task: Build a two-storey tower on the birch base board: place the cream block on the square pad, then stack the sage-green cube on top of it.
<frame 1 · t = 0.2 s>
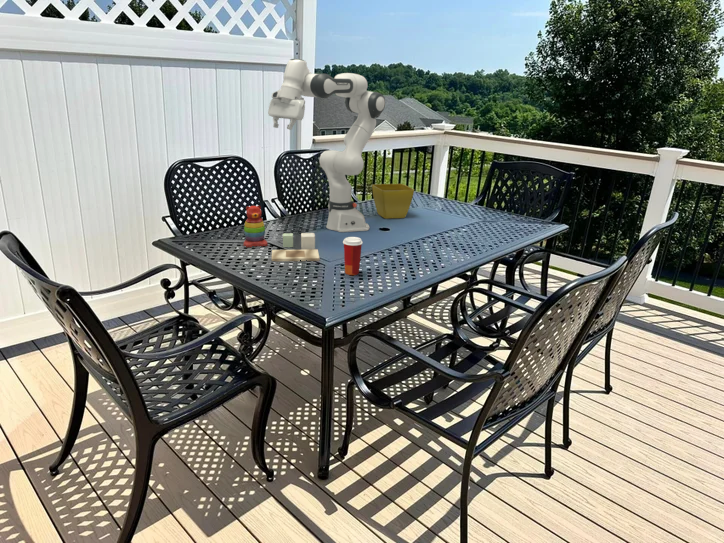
hand: (282, 128, 222), 52 cm above the table, tool tilted 20°, fingers open, 8 cm apart
base board: (295, 256, 221), on the table
paper cup: (351, 273, 205), on the table
flower pot: (391, 216, 294), on the table
sage cube: (288, 246, 235), on the table
stacking bear: (255, 244, 236), on the table
cream block: (308, 247, 234), on the table
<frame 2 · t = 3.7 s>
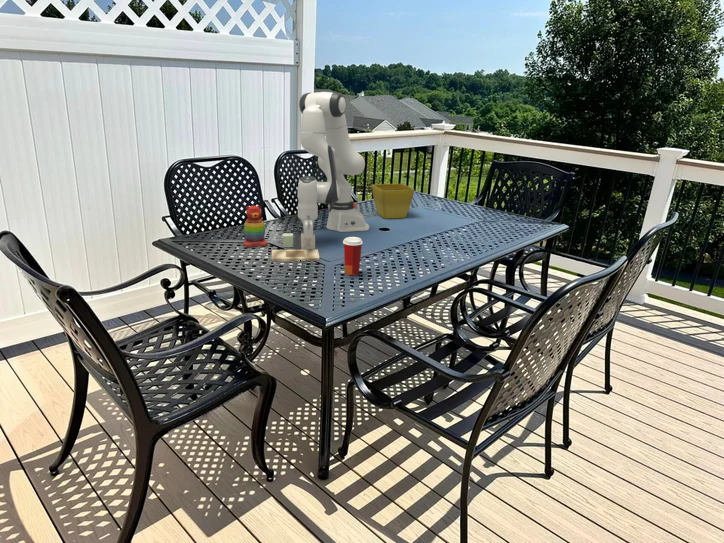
hand: (307, 243, 233), 2 cm above the table, tool pointing down, fingers closed on cream block, 6 cm apart
cream block: (308, 247, 234), on the table, touching gripper
everything else where it was.
when the fingers open (4 cm above the table, at t = 9.1 s): cream block stays where it is, resting on base board.
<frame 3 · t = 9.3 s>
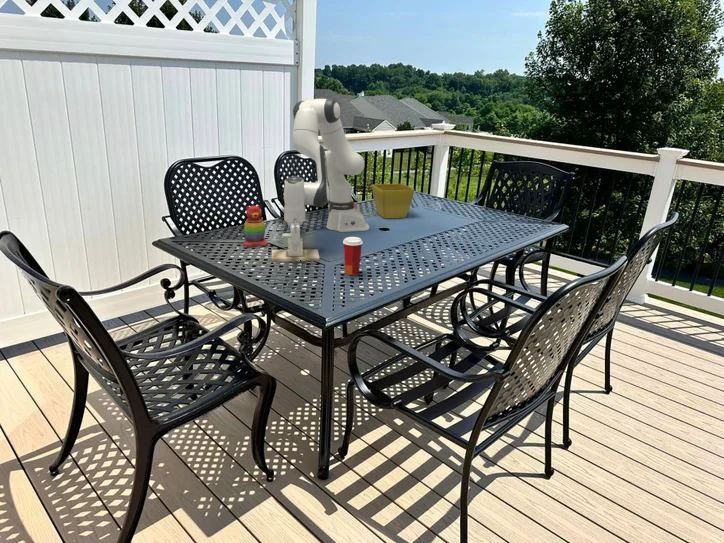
hand: (295, 247, 220), 4 cm above the table, tool pointing down, fingers open, 8 cm apart
cream block: (295, 253, 221), point 1 cm above the table, touching base board
everything else where it was.
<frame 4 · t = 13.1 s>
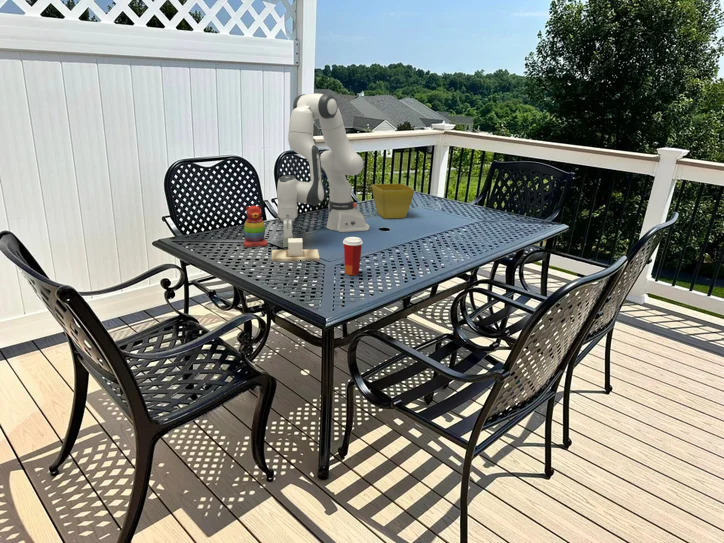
hand: (288, 242, 234), 2 cm above the table, tool pointing down, fingers closed on sage cube, 4 cm apart
sage cube: (288, 246, 235), on the table, touching gripper
everything else where it was.
when the fingers open (10 cm above the table, at t = 18.0 s): sage cube stays where it is, resting on cream block.
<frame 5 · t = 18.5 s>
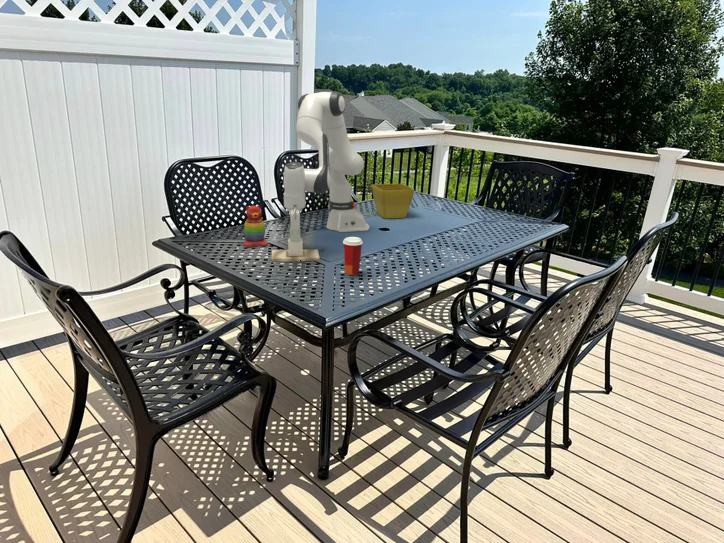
hand: (295, 234, 218), 10 cm above the table, tool pointing down, fingers open, 8 cm apart
sage cube: (295, 240, 219), point 7 cm above the table, touching cream block
cream block: (295, 253, 221), point 1 cm above the table, touching base board, sage cube
everything else where it was.
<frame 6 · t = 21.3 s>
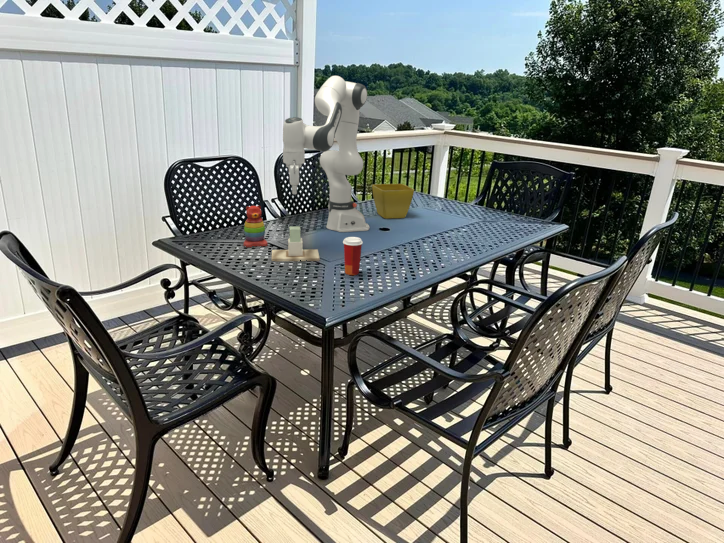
hand: (294, 191, 217), 27 cm above the table, tool pointing down, fingers open, 8 cm apart
nothing on the table moved.
at the end: cream block 0.1 cm off-centre on the base board, point 1.3 cm above the base board's base; sage cube 0.1 cm off-centre on the cream block, point 6.0 cm above the cream block's base; sage cube tilted 0° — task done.
